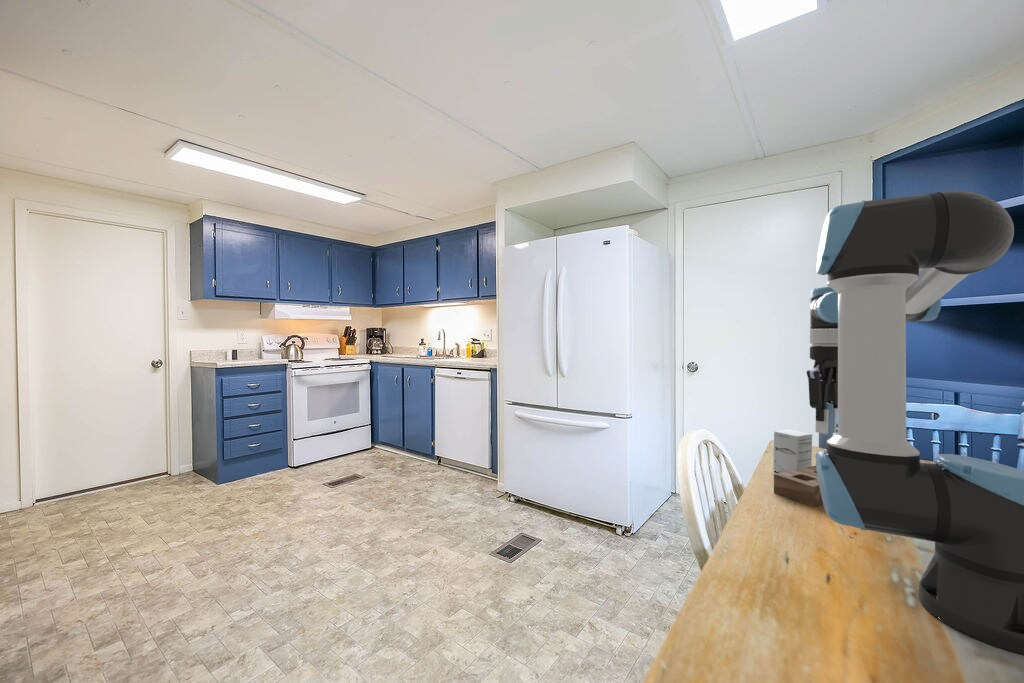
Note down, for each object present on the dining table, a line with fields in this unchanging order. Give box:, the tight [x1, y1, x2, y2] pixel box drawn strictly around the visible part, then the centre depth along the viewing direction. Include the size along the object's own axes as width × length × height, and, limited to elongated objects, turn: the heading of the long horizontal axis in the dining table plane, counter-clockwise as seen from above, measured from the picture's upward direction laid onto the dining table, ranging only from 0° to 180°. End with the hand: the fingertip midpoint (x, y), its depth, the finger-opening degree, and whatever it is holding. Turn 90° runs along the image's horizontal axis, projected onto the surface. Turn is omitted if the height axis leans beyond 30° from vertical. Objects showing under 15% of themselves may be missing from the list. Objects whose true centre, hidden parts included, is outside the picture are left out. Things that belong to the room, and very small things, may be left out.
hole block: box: [773, 465, 823, 508], centre depth 111 cm, size 18×10×5 cm, turn 113°
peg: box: [818, 403, 834, 450], centre depth 112 cm, size 3×3×12 cm
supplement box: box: [772, 428, 813, 473], centre depth 127 cm, size 7×7×13 cm
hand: (825, 432), depth 112 cm, fingers closed on peg, 3 cm apart
